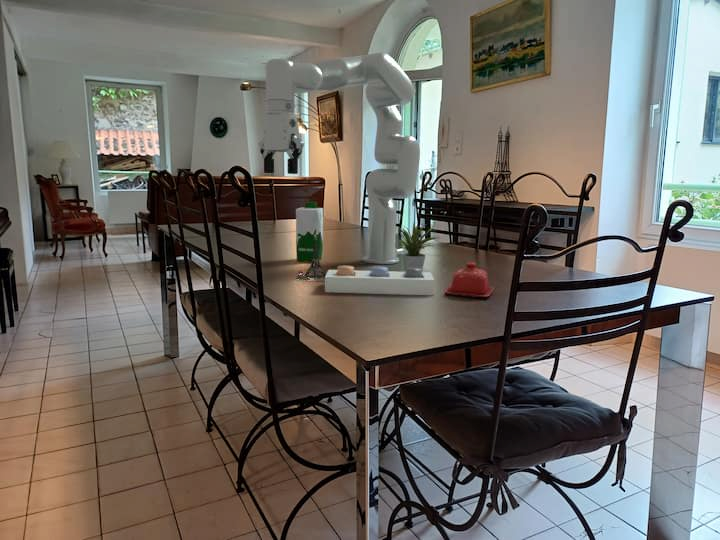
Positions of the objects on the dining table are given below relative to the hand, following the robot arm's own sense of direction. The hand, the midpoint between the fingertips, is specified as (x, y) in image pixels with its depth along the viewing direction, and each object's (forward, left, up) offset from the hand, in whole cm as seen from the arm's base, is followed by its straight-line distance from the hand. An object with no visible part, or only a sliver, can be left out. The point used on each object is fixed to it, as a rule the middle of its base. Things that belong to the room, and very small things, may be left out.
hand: (280, 173), depth 143 cm
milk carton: (-25, -20, -30) cm, 44 cm away
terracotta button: (-7, +20, -27) cm, 34 cm away
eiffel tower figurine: (-10, +2, -31) cm, 32 cm away
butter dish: (-29, +44, -30) cm, 61 cm away
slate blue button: (-13, +26, -27) cm, 40 cm away
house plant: (-34, +19, -30) cm, 49 cm away
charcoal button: (-19, +33, -27) cm, 47 cm away
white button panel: (-13, +26, -30) cm, 42 cm away
